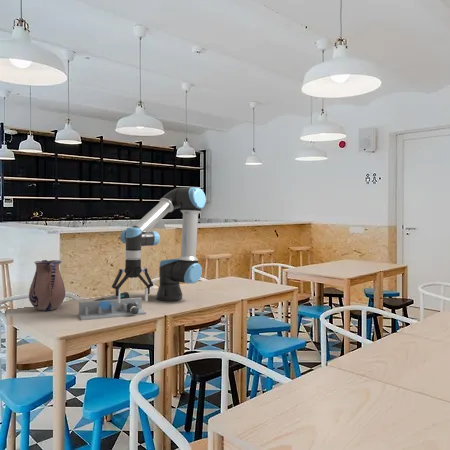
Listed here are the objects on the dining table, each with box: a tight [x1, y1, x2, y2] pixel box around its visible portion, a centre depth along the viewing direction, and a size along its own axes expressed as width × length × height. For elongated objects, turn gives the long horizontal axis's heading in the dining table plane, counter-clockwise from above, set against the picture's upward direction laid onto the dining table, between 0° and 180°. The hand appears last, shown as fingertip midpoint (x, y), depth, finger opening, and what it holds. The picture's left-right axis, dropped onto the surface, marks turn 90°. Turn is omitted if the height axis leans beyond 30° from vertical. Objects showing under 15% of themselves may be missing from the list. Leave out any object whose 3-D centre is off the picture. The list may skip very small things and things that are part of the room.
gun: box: [93, 291, 131, 301], centre depth 239 cm, size 4×20×10 cm, turn 113°
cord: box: [127, 303, 138, 314], centre depth 222 cm, size 10×4×4 cm, turn 25°
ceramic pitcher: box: [28, 259, 66, 312], centre depth 230 cm, size 18×21×25 cm
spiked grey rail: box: [78, 297, 147, 321], centre depth 220 cm, size 31×10×6 cm, turn 115°
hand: (132, 301), depth 220 cm, fingers open, 13 cm apart
